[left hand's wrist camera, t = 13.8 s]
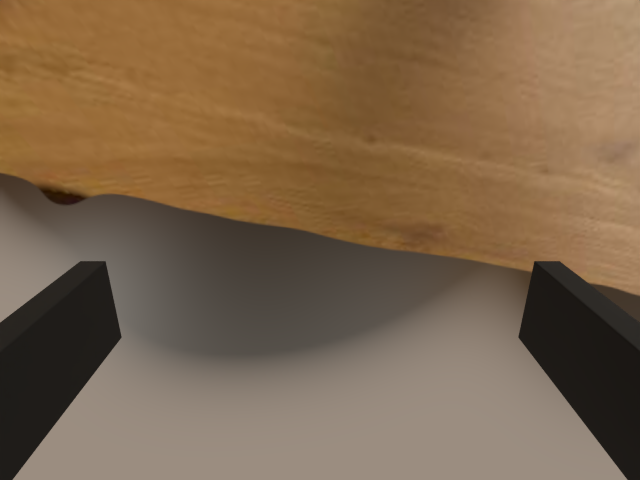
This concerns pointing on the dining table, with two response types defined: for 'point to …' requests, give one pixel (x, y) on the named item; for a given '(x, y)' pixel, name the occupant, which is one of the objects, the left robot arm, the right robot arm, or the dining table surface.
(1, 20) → the dining table surface
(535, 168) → the dining table surface
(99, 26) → the dining table surface
